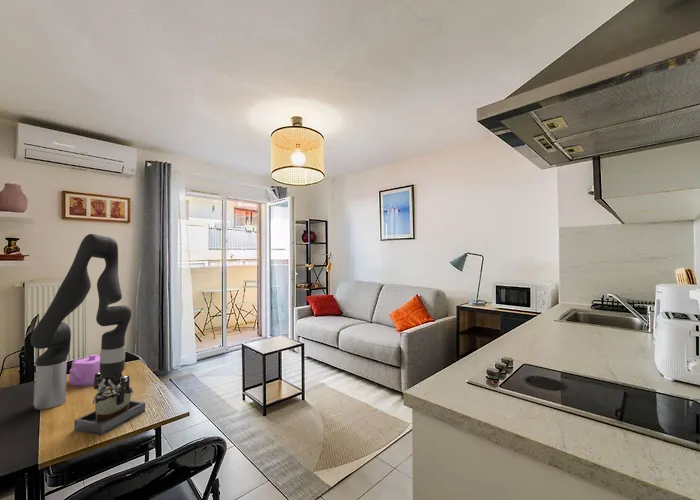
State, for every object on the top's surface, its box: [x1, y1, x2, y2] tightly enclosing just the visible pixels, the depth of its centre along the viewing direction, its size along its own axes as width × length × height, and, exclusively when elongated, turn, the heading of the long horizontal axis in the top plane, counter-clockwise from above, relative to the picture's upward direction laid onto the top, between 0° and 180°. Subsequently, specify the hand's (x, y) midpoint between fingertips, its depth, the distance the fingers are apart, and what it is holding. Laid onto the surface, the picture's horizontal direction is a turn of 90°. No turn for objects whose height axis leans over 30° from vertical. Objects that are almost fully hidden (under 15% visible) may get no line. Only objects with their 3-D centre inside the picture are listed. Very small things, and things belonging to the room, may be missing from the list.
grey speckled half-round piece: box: [92, 386, 134, 423], centre depth 117 cm, size 12×6×10 cm, turn 144°
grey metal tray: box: [73, 399, 146, 436], centre depth 116 cm, size 12×17×4 cm
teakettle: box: [68, 354, 100, 387], centre depth 152 cm, size 17×17×12 cm
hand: (111, 402), depth 116 cm, fingers open, 8 cm apart
